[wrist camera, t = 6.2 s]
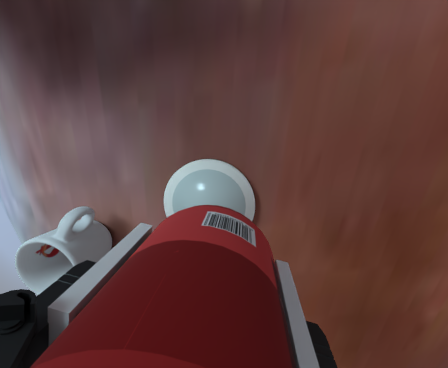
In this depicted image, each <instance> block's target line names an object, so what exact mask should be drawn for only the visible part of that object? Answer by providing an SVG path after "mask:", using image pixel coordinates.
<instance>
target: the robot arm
mask: <svg viewBox="0 0 448 368" xmlns="http://www.w3.org/2000/svg"><path fill="white" fill-rule="evenodd" d="M151 232H152V225H148V224H144V223H140V224H139V225H138V226H137V227H136V228H134V229H133V230H132V231H131V232H130V233H129V234H128V235H127V236H126V237H125V238H123V239H122V240H121V241H120V242H119V243H118V244H117V245H116V246H115V247H114V248H112V249H111V250H110V251H109V252H108V253H107V254H106V255H105V256H104V257H103V258H101V259H100V260H99V261H98V262H93V261H89V260H86V261H83V262H81V263H79V264H77V265H75V266H74V267H72V268H71V269H70V270H69V271H67V272H66V274H65V275H62V276H61V277H60V278H59V279H58V280H57V281H55V282H54V283H53V284H51V285H50V286H49V287H48V288H46V289H45V290H44V291H43V292H41V293H40V294H39V295H38V296H37V297H36V295H35V293H34V292H32V291H30V290H22V289H20V290H13V291H9V292H6V293H3V294H0V368H30V367H31V366H32V365H33V363H34V362H35V361H36V360H37V359H38V358H39V357H40V356H41V355H42V354H43V352H44V351H45V350H46V349H47V348H48V347H49V346H50V345H51V344H52V343H53V341H54V340H55V339H56V338H57V337H58V336H59V335H60V334H61V333H62V331H63V330H64V329H65V328H66V327H67V326H68V325H69V324H70V323H71V322H72V320H73V319H74V318H75V317H76V316H77V315H78V314H79V313H80V312H81V310H82V309H83V308H84V307H85V306H86V305H87V304H88V303H89V302H90V301H91V299H92V298H93V297H94V296H95V295H96V294H97V293H98V292H99V291H100V290H101V288H102V287H103V286H104V285H105V284H106V283H107V282H108V281H109V280H110V278H111V277H112V276H113V275H114V274H115V273H116V272H117V271H118V270H119V269H120V267H121V266H122V265H123V264H124V263H125V262H126V261H127V260H128V259H129V258H130V256H131V255H132V254H133V253H134V252H135V251H136V250H137V249H138V248H139V246H140V245H141V244H142V243H143V242H144V241H145V240H146V239H147V238H148V237H149V235H150V234H151ZM275 269H276V274H277V278H278V283H279V288H280V293H281V298H282V302H283V307H284V312H285V317H286V322H287V326H288V331H289V336H290V341H291V346H292V350H293V355H294V360H295V365H296V368H337V365H336V363H335V360H334V357H333V355H332V352H331V350H330V347H329V344H328V341H327V339H326V336H325V334H324V333H323V331H322V330H321V329H320V327H319V326H318V324H315V323H311V322H308V321H305V317H304V314H303V311H302V307H301V304H300V301H299V297H298V294H297V291H296V288H295V284H294V281H293V278H292V274H291V271H290V268H289V264H288V263H287V262H283V261H280V260H276V261H275Z"/></svg>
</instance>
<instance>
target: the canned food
mask: <svg viewBox="0 0 448 368" xmlns="http://www.w3.org/2000/svg"><path fill="white" fill-rule="evenodd" d="M30 368H296V365H295V360H294V355H293V350H292V346H291V341H290V336H289V331H288V326H287V322H286V317H285V312H284V307H283V302H282V298H281V293H280V288H279V283H278V278H277V274H276V269H275V264H274V259H273V254H272V251H271V248H270V245H269V243H268V241H267V239H266V238H265V236H264V235H263V233H262V231H261V230H260V229H259V228H258V227H257V226H256V225H255V224H254V223H253V222H252V221H251V220H250V219H248V218H247V217H245V216H244V215H243V214H241V213H239V212H237V211H235V210H233V209H230V208H227V207H223V206H219V205H198V206H193V207H190V208H186V209H183V210H180V211H178V212H176V213H174V214H172V215H170V216H169V217H167V218H166V219H165V220H164V221H163V222H162V223H160V224H159V226H158V227H157V228H156V229H155V230H154V231H153V232H152V233H151V234H150V235H149V237H148V238H147V239H146V240H145V241H144V242H143V243H142V244H141V245H140V246H139V248H138V249H137V250H136V251H135V252H134V253H133V254H132V255H131V256H130V258H129V259H128V260H127V261H126V262H125V263H124V264H123V265H122V266H121V267H120V269H119V270H118V271H117V272H116V273H115V274H114V275H113V276H112V277H111V278H110V280H109V281H108V282H107V283H106V284H105V285H104V286H103V287H102V288H101V290H100V291H99V292H98V293H97V294H96V295H95V296H94V297H93V298H92V299H91V301H90V302H89V303H88V304H87V305H86V306H85V307H84V308H83V309H82V310H81V312H80V313H79V314H78V315H77V316H76V317H75V318H74V319H73V320H72V322H71V323H70V324H69V325H68V326H67V327H66V328H65V329H64V330H63V331H62V333H61V334H60V335H59V336H58V337H57V338H56V339H55V340H54V341H53V343H52V344H51V345H50V346H49V347H48V348H47V349H46V350H45V351H44V352H43V354H42V355H41V356H40V357H39V358H38V359H37V360H36V361H35V362H34V363H33V365H32V366H31V367H30Z"/></svg>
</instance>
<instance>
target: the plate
mask: <svg viewBox="0 0 448 368" xmlns="http://www.w3.org/2000/svg"><path fill="white" fill-rule="evenodd" d="M198 205H219V206H223V207H227V208H230V209H233V210H235V211H237V212H239V213H241V214H243V215H244V216H245V217H247V218H248V219H250V220H251V221H252V220H253V217H254V213H255V198H254V193H253V190H252V187H251V185H250V183H249V182H248V180H247V178H246V177H245V176H244V175H243V174H242V173H241V172H240V171H239V170H238V169H237V168H235V167H234V166H232V165H230V164H228V163H226V162H223V161H220V160H216V159H201V160H196V161H193V162H190V163H188V164H186V165H184V166H183V167H181V168H180V169H179V170H178V171H176V172H175V173H174V175H173V176H172V177H171V179H170V180H169V182H168V184H167V186H166V189H165V193H164V209H165V213H166V216H167V217H169V216H170V215H172V214H174V213H176V212H178V211H180V210H183V209H186V208H190V207H193V206H198Z"/></svg>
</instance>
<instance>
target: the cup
mask: <svg viewBox="0 0 448 368" xmlns="http://www.w3.org/2000/svg"><path fill="white" fill-rule="evenodd" d="M82 216H83V217H82ZM94 216H95V212H94V210H93V209H91V208H89V207H86V206H82V207H77V208H75V209H73V210H71V211H70V212H68V213H67V214H66V215H65V216H64V217H63V218H62V220H61V221H60V223H59V226H58V228H57V229H55V230H52V231H50V232H47V233H45V234H42V235H40V236H37V237H35V238H32V239H30V240H28V241H26V242H24V243H23V244H22V245H21V246H20V247H19V249H18V251H17V253H16V256H15V266H16V270H17V272H18V275H19V277H20V278H21V280H22V281H23V282H24V284H25V285H26V286H27V287H28V288H29V289H31V290H32V291H33V292H34V293H36V294H38V295H39V294H40V293H41V292H43V291H44V290H45V289H46V288H48V287H49V286H50V285H51V284H53V283H54V282H55V281H57V280H58V279H59V278H60V277H61V276H62V275H65V274H66V272H67V271H69V270H70V269H71V268H72V267H74V266H75V265H77V264H79V263H81V262H83V261H86V260H89V261H93V262H98V261H99V260H100V259H101V258H103V257H104V256H105V255H106V254H107V253H108V252H109V251H110V250H111V248H112V237H111V234H110V232H109V231H108V229H107V228H106V227H105V226H104V225H103V224H101V223H100V222H98V221H95V220H94ZM81 217H82V219H81V220H79V219H80V218H81ZM77 220H78V221H77Z"/></svg>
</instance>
